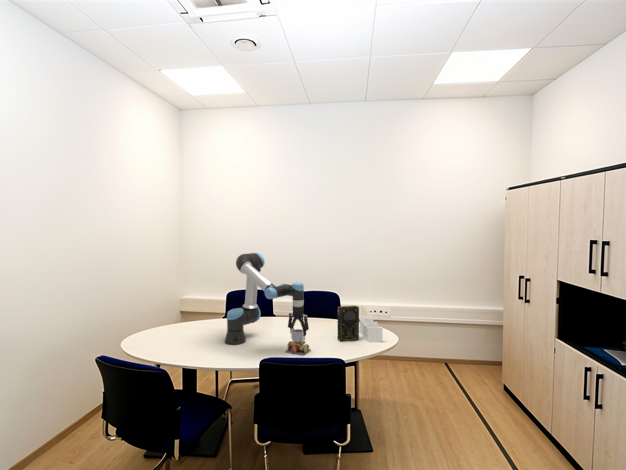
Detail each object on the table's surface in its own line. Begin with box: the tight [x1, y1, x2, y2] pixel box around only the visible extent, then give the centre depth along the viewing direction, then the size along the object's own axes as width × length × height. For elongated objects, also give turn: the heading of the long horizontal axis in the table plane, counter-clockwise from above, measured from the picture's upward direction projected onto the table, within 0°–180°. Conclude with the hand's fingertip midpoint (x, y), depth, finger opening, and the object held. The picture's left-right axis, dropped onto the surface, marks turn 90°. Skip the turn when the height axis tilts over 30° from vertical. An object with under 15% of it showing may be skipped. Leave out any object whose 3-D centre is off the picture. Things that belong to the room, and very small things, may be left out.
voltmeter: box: [337, 305, 360, 343], centre depth 258 cm, size 16×9×25 cm, turn 105°
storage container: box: [359, 318, 384, 343], centre depth 265 cm, size 25×11×11 cm, turn 6°
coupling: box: [291, 328, 303, 342], centre depth 234 cm, size 8×8×6 cm
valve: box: [285, 340, 312, 357], centre depth 234 cm, size 14×11×12 cm
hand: (298, 339), depth 234 cm, fingers closed on coupling, 8 cm apart
